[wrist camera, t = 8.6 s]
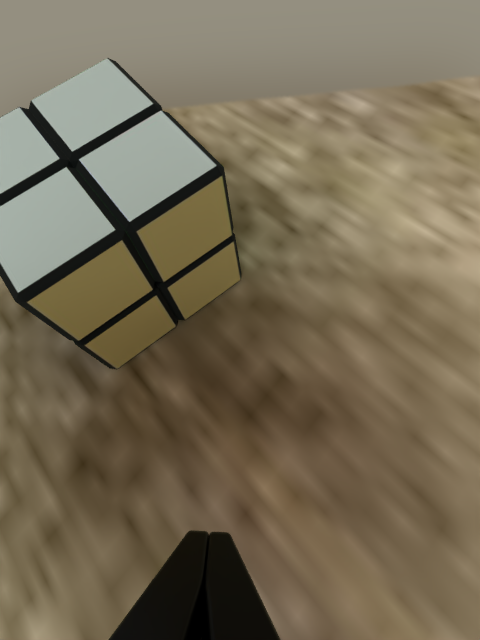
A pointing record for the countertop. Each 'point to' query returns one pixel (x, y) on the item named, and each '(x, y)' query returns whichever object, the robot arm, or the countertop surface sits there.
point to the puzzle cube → (110, 215)
